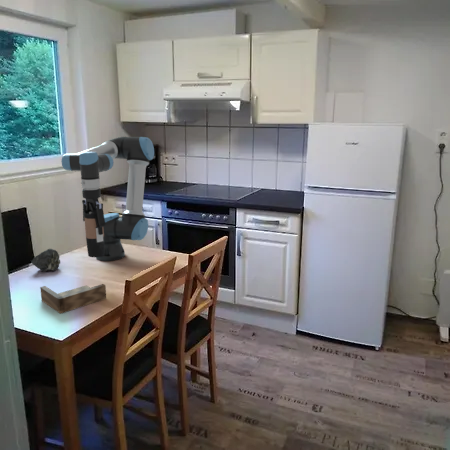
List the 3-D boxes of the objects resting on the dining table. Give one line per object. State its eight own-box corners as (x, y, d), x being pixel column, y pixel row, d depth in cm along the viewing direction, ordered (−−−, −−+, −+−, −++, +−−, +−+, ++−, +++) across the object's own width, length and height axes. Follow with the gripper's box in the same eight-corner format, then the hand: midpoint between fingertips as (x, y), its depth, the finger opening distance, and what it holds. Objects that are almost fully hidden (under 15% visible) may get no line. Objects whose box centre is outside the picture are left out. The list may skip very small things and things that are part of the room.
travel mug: (103, 251, 200) (100, 208, 195) (106, 256, 193) (103, 212, 188) (86, 253, 197) (82, 210, 192) (89, 258, 190) (85, 214, 185)
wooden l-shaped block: (86, 287, 194) (85, 274, 193) (106, 298, 183) (105, 285, 181) (41, 300, 181) (40, 287, 179) (60, 313, 169) (58, 299, 167)
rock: (54, 258, 224) (50, 244, 217) (67, 267, 220) (63, 253, 213) (34, 273, 216) (29, 259, 209) (47, 282, 212) (42, 267, 205)
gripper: (71, 186, 192) (76, 236, 198) (95, 192, 178) (99, 246, 184) (87, 184, 197) (91, 233, 203) (111, 190, 183) (115, 242, 189)
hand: (95, 239), depth 193 cm, fingers closed on travel mug, 8 cm apart
